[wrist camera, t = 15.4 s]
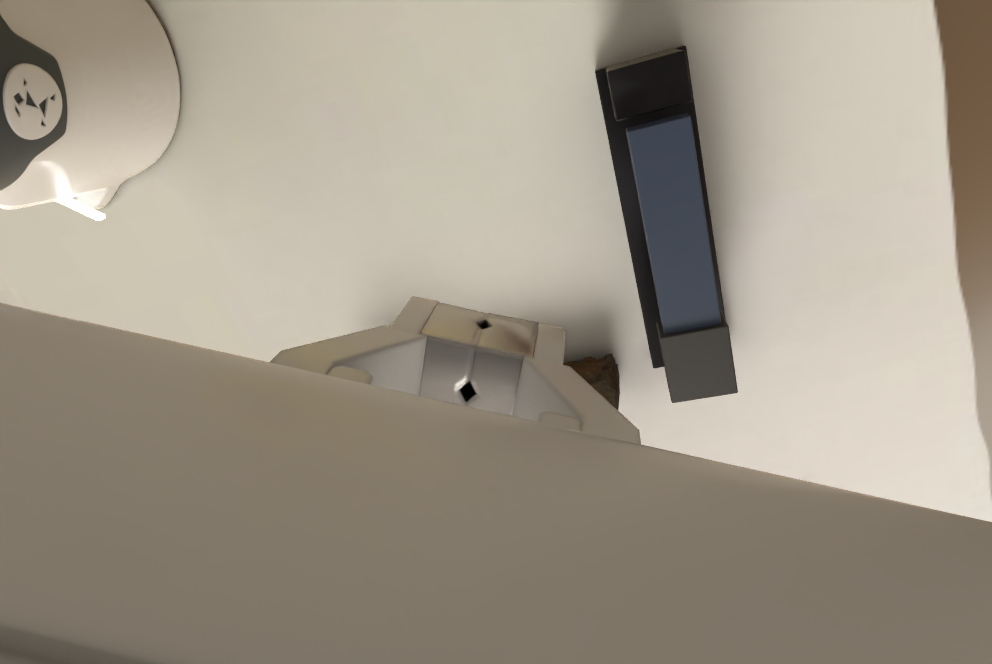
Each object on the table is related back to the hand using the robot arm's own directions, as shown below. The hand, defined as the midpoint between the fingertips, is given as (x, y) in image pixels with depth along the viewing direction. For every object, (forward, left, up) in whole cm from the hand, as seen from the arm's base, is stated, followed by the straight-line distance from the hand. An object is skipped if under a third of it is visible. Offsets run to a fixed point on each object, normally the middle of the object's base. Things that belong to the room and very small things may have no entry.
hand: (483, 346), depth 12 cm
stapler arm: (+8, -5, -26) cm, 27 cm away
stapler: (+8, -4, -31) cm, 32 cm away
